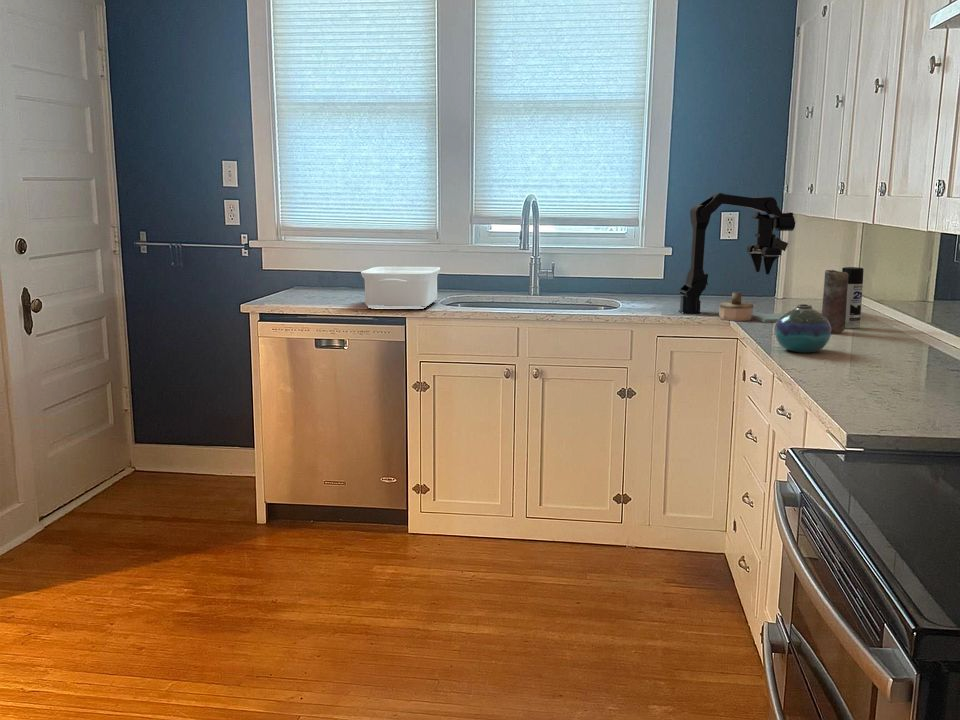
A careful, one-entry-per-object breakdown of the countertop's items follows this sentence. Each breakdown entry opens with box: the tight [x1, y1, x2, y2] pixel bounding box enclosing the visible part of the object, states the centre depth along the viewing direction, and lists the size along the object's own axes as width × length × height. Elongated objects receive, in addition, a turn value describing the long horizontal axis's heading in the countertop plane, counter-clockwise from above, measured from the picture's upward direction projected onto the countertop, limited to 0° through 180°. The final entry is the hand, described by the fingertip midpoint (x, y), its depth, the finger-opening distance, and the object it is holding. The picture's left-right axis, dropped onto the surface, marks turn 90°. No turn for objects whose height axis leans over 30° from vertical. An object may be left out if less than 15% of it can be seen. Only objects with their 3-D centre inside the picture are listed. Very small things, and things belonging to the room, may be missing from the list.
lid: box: [718, 291, 754, 309], centre depth 316 cm, size 12×12×5 cm
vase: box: [774, 303, 832, 354], centre depth 255 cm, size 15×15×13 cm
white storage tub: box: [360, 265, 441, 307], centre depth 355 cm, size 34×29×15 cm
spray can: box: [841, 266, 865, 330], centre depth 294 cm, size 7×7×20 cm
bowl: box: [718, 306, 754, 322], centre depth 317 cm, size 11×11×4 cm
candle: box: [821, 269, 849, 334], centre depth 285 cm, size 8×7×20 cm
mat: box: [751, 313, 785, 323], centre depth 316 cm, size 13×13×1 cm
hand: (762, 273), depth 332 cm, fingers open, 9 cm apart
